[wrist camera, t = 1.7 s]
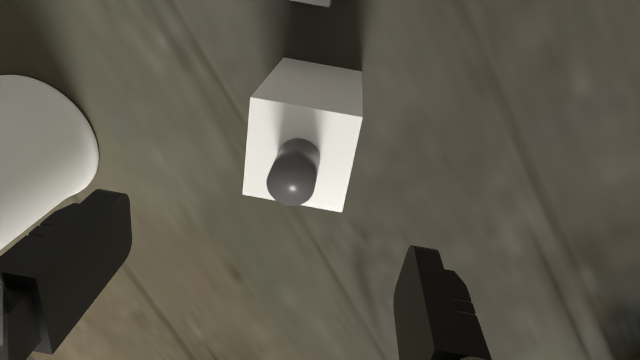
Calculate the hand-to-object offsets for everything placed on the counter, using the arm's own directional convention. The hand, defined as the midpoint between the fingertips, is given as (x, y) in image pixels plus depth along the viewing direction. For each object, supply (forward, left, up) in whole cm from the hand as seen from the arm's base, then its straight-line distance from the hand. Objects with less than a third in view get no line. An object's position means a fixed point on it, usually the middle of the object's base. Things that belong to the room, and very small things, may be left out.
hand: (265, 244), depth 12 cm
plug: (0, 0, -14) cm, 14 cm away
